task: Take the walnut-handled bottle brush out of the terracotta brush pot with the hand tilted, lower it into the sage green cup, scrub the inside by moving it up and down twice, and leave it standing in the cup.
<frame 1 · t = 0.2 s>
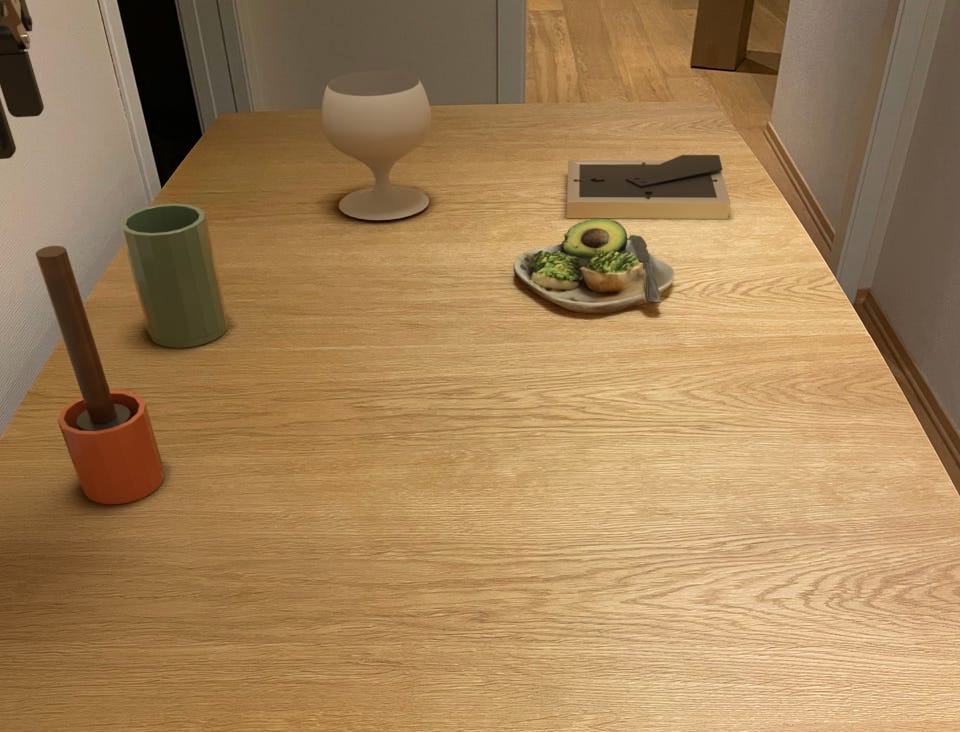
hand: (14, 135, 65), 30 cm above the table, tool pointing down, fingers open, 8 cm apart
brush: (122, 476, 89), resting on brush pot
avocado toast plate: (593, 281, 117), on the table
picture frame: (643, 197, 136), on the table
brush pot: (124, 481, 89), on the table
chalice: (384, 207, 136), on the table
sage green cup: (189, 330, 110), on the table
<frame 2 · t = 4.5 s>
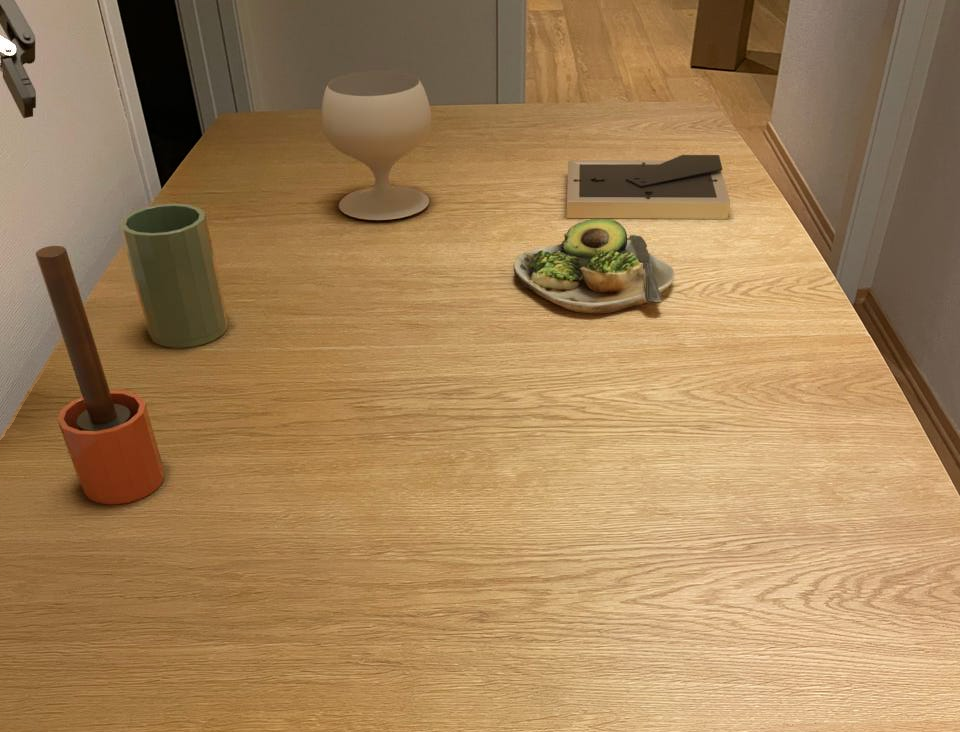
nothing on the table moved.
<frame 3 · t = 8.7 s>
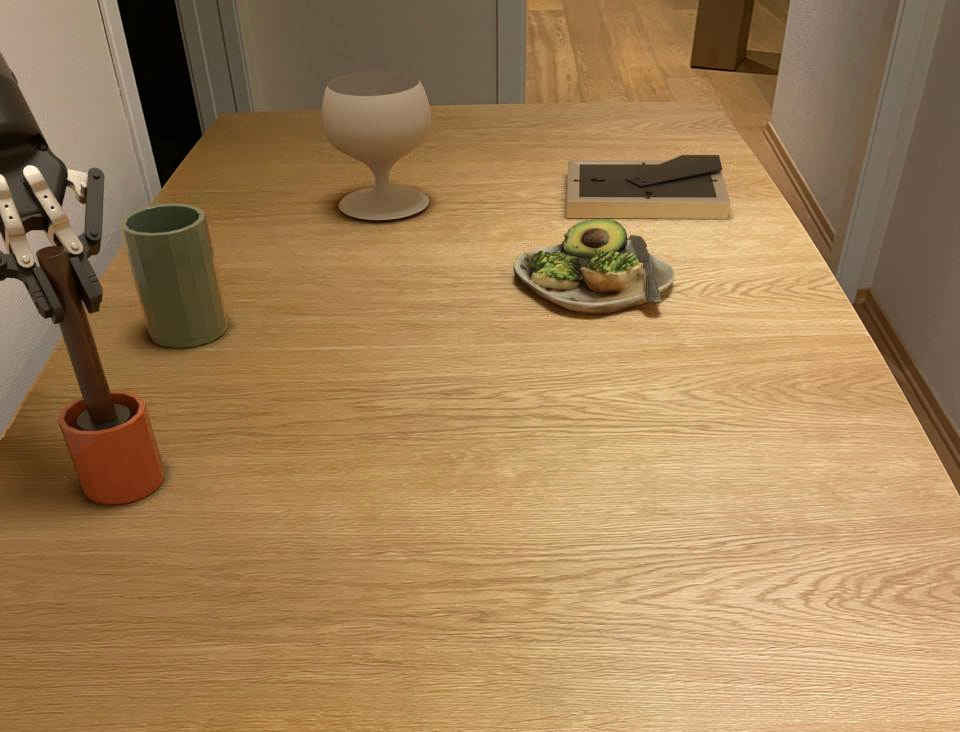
hand: (76, 312, 76), 16 cm above the table, tool tilted 45°, fingers closed on brush, 2 cm apart
brush: (122, 476, 89), point 1 cm above the table, touching brush pot, gripper
everything else where it was.
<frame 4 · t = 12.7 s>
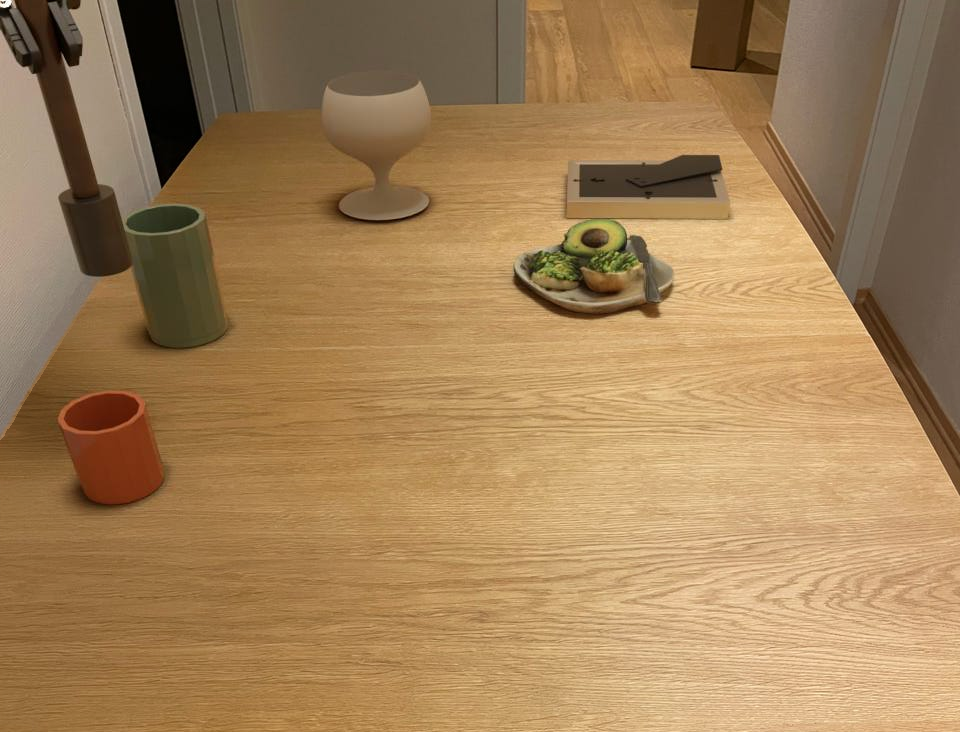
hand: (55, 62, 74), 31 cm above the table, tool tilted 45°, fingers closed on brush
brush: (106, 266, 86), point 15 cm above the table, touching gripper
everything else where it was.
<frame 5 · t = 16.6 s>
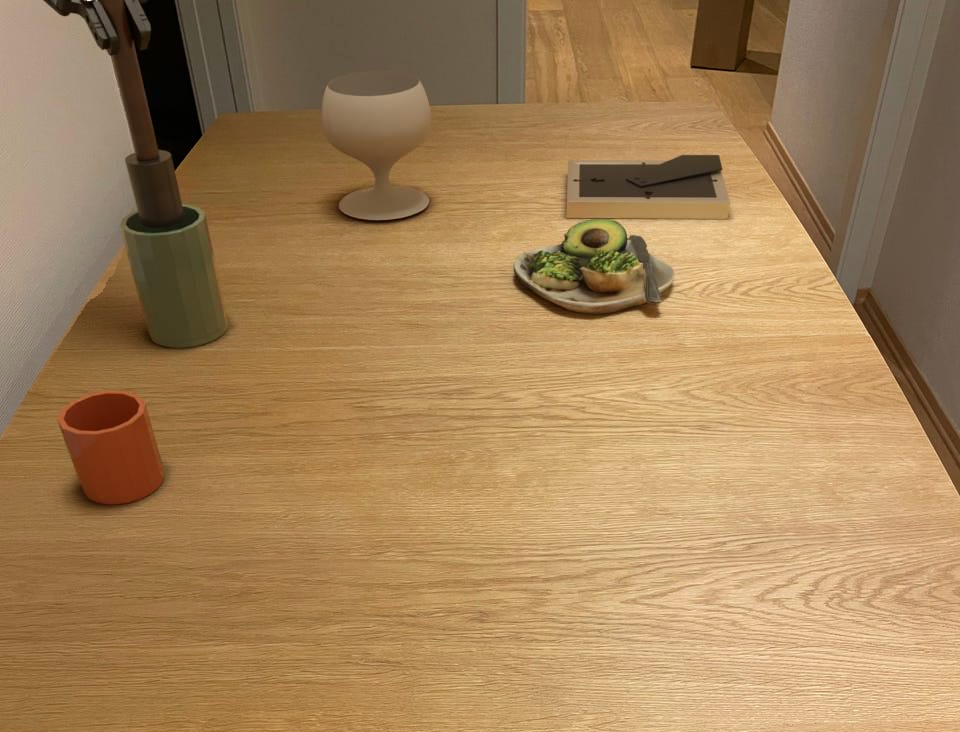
hand: (129, 45, 90), 28 cm above the table, tool tilted 45°, fingers closed on brush
brush: (162, 219, 102), point 12 cm above the table, touching gripper
everything else where it was.
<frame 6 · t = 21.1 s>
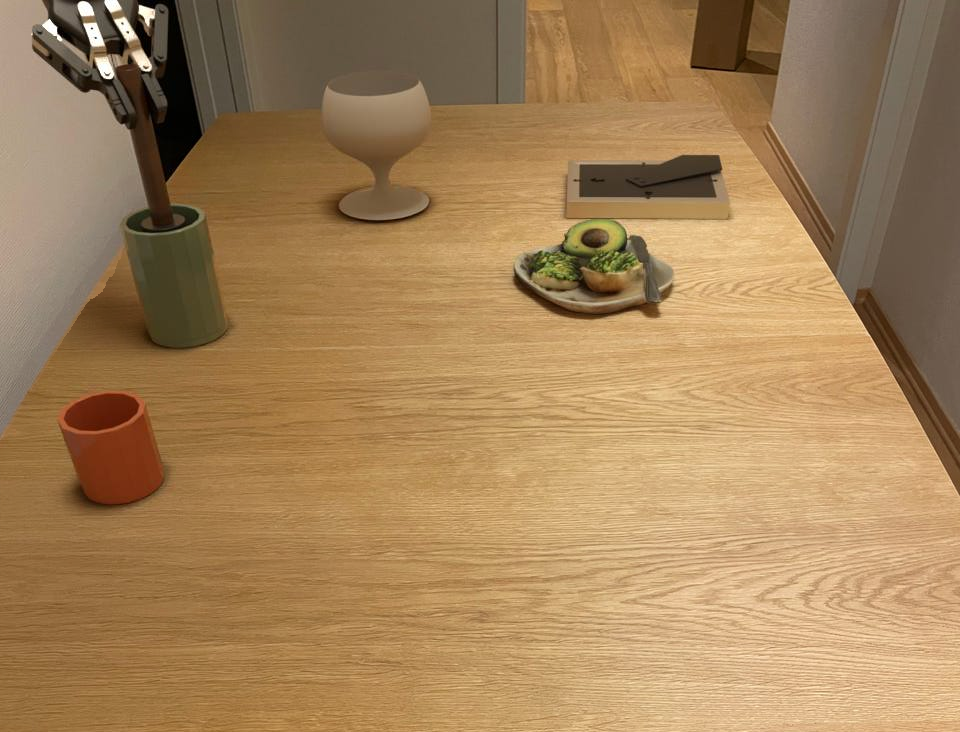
hand: (146, 120, 94), 22 cm above the table, tool tilted 45°, fingers closed on brush
brush: (176, 278, 106), point 6 cm above the table, touching gripper
everything else where it was.
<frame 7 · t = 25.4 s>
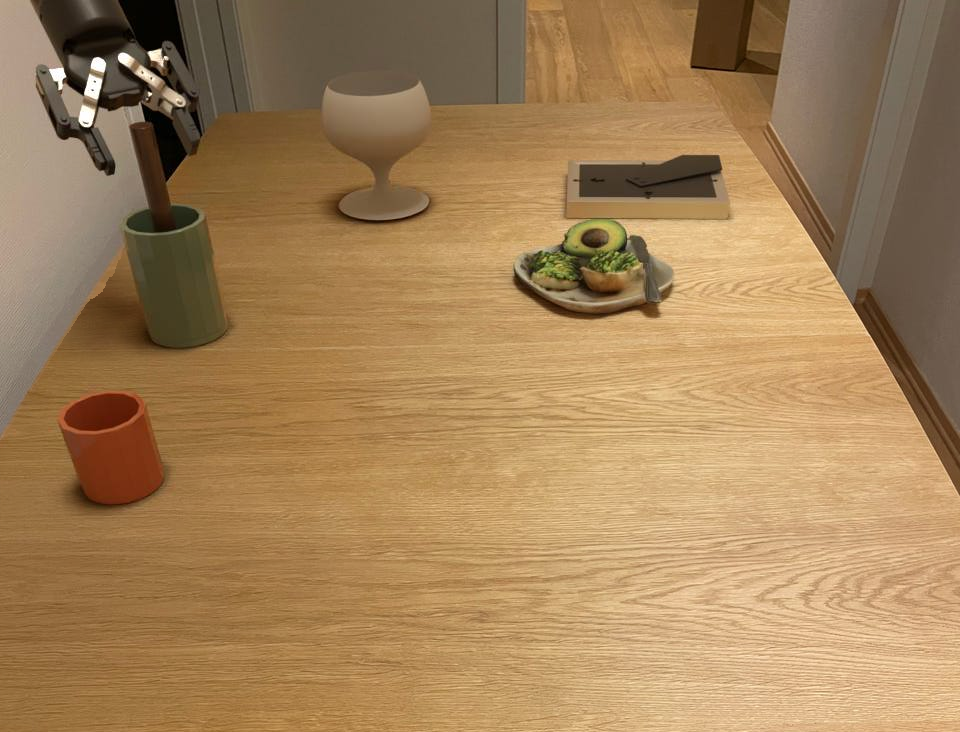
hand: (153, 160, 97), 18 cm above the table, tool tilted 45°, fingers open, 8 cm apart
brush: (187, 322, 110), point 1 cm above the table, touching sage green cup
everything else where it was.
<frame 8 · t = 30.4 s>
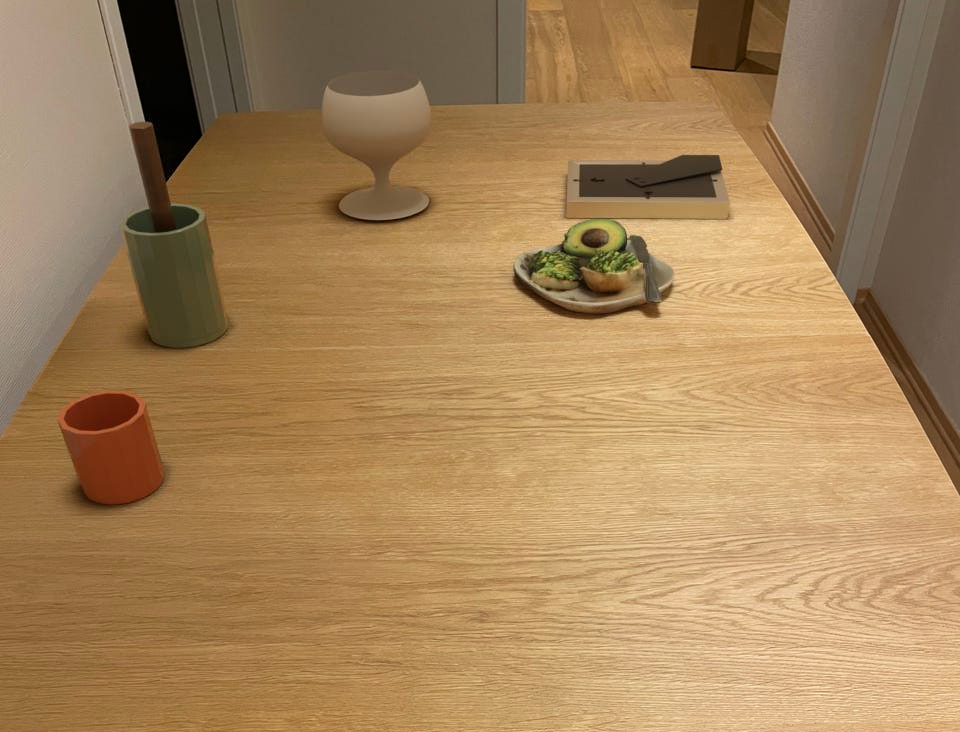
nothing on the table moved.
at the end: brush 0.1 cm off-centre in the sage green cup, point 0.8 cm above the sage green cup's base; the gripper is holding nothing; brush tilted 0° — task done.
